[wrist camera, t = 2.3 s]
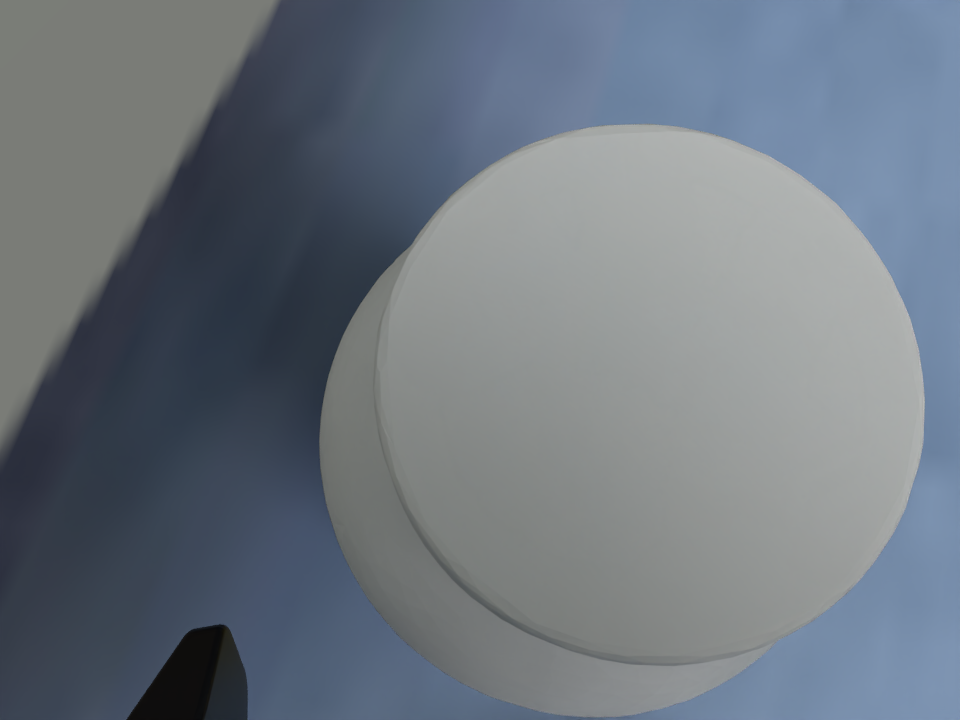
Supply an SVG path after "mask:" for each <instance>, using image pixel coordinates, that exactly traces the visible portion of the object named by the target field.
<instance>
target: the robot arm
mask: <svg viewBox="0 0 960 720" xmlns="http://www.w3.org/2000/svg"><path fill="white" fill-rule="evenodd" d="M247 706H248V690H247V679H246V673H245V669H244V666H243V664H242V661H241V658H240V656H239V653H238V650H237V647H236V645H235V642H234V639H233V637H232V634H231V632H230V630H229V628H228V627H227V626H226V625H221V624H219V625H213V626H207V627H202V628H196V629H193V630H191V631H189V632H188V633H187V634H186V635H185V636H184V637H183V639H182V640H181V642H180V643H179V645H178V646H177V647H176V649H175V650H174V652H173V653H172V655H171V656H170V658H169V659H168V660H167V662H166V663H165V665H164V666H163V668H162V669H161V671H160V672H159V673H158V675H157V676H156V678H155V679H154V681H153V682H152V683H151V685H150V686H149V688H148V689H147V691H146V692H145V694H144V695H143V696H142V698H141V699H140V701H139V702H138V704H137V705H136V707H135V708H134V709H133V711H132V712H131V714H130V715H129V717H128V718H127V720H247Z"/></svg>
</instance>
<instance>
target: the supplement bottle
mask: <svg viewBox="0 0 960 720" xmlns="http://www.w3.org/2000/svg"><path fill="white" fill-rule="evenodd" d="M924 406H925V398H924V386H923V375H922V369H921V362H920V355H919V349H918V345H917V342H916V338H915V335H914V331H913V327H912V324H911V320H910V317H909V315H908V312H907V310H906V308H905V305H904V303H903V301H902V299H901V297H900V294H899V292H898V290H897V288H896V286H895V284H894V281H893V279H892V277H891V275H890V274H889V272H888V271H887V269H886V267H885V266H884V264H883V262H882V261H881V259H880V258H879V256H878V255H877V253H876V252H875V250H874V249H873V247H872V246H871V244H870V243H869V242H868V240H867V239H866V238H865V236H864V235H863V234H862V232H861V231H860V230H859V229H858V228H857V227H856V226H855V224H854V223H853V222H852V221H851V220H850V219H849V217H848V216H847V215H846V214H845V213H844V212H843V211H842V209H841V208H840V207H839V206H838V205H837V204H836V203H835V202H834V201H832V200H831V199H830V198H829V197H828V196H827V195H825V194H824V193H823V192H821V191H820V190H819V189H818V188H816V187H815V186H814V185H812V184H811V183H810V182H809V181H807V180H806V179H805V178H803V177H802V176H801V175H799V174H798V173H796V172H794V171H793V170H791V169H789V168H788V167H786V166H785V165H783V164H781V163H780V162H778V161H776V160H775V159H773V158H771V157H770V156H768V155H765V154H763V153H761V152H759V151H756V150H754V149H752V148H749V147H747V146H745V145H742V144H740V143H738V142H735V141H733V140H730V139H727V138H723V137H720V136H717V135H714V134H711V133H706V132H701V131H697V130H692V129H687V128H682V127H676V126H666V125H656V124H631V125H602V126H596V127H590V128H585V129H580V130H575V131H570V132H565V133H561V134H558V135H554V136H551V137H548V138H545V139H542V140H539V141H537V142H534V143H532V144H529V145H527V146H524V147H522V148H520V149H518V150H516V151H514V152H512V153H510V154H508V155H506V156H505V157H503V158H501V159H500V160H498V161H496V162H495V163H493V164H491V165H490V166H488V167H487V168H485V169H484V170H483V171H481V172H480V173H479V174H477V175H476V176H474V177H473V178H472V179H470V180H469V181H468V182H466V183H465V184H464V185H463V186H462V187H460V188H459V189H458V190H457V191H456V192H454V193H453V194H452V195H451V196H450V197H449V198H448V199H447V200H446V201H445V203H444V204H443V205H442V206H441V207H440V208H439V209H438V210H437V211H436V213H435V214H434V215H433V216H432V218H431V219H430V220H429V221H428V223H427V224H426V225H425V226H424V228H423V229H422V230H421V231H420V233H419V234H418V235H417V237H416V239H415V240H414V242H413V244H412V245H411V246H410V247H409V248H408V249H406V250H405V251H404V252H403V253H402V254H401V255H400V256H399V257H398V258H397V259H396V260H395V261H394V263H393V264H392V265H391V266H389V267H388V268H387V269H386V270H385V272H384V273H383V274H382V275H381V276H380V277H379V279H378V280H377V281H376V283H375V284H374V285H373V287H372V288H371V290H370V291H369V292H368V294H367V295H366V297H365V298H364V299H363V301H362V302H361V304H360V305H359V307H358V309H357V310H356V312H355V314H354V316H353V317H352V319H351V321H350V323H349V325H348V327H347V329H346V331H345V332H344V334H343V337H342V339H341V342H340V344H339V347H338V349H337V352H336V355H335V357H334V360H333V363H332V366H331V370H330V373H329V376H328V380H327V385H326V389H325V394H324V400H323V406H322V412H321V424H320V437H319V445H320V467H321V476H322V483H323V489H324V495H325V500H326V505H327V508H328V512H329V515H330V519H331V522H332V525H333V528H334V531H335V534H336V538H337V540H338V543H339V545H340V548H341V550H342V552H343V555H344V557H345V559H346V561H347V563H348V565H349V567H350V569H351V571H352V573H353V574H354V576H355V578H356V580H357V582H358V583H359V585H360V587H361V588H362V590H363V592H364V593H365V595H366V596H367V598H368V599H369V601H370V602H371V603H372V605H373V606H374V607H375V609H376V610H377V611H378V613H379V614H380V615H381V616H382V617H383V618H384V620H385V621H386V622H387V623H388V624H389V625H390V627H391V628H392V629H393V630H394V631H395V632H396V633H397V635H398V636H399V637H400V638H401V639H402V640H403V641H405V642H406V643H407V644H408V645H409V646H410V647H411V648H413V649H414V650H415V651H416V652H417V653H419V654H420V655H421V656H422V657H424V658H425V659H426V660H427V661H429V662H430V663H432V664H433V665H434V666H436V667H437V668H438V669H440V670H441V671H443V672H444V673H446V674H447V675H449V676H451V677H452V678H454V679H456V680H457V681H459V682H461V683H463V684H465V685H467V686H469V687H471V688H473V689H475V690H477V691H479V692H481V693H483V694H485V695H487V696H490V697H492V698H495V699H498V700H501V701H505V702H508V703H512V704H515V705H518V706H522V707H525V708H529V709H532V710H535V711H541V712H546V713H551V714H556V715H563V716H578V717H619V716H628V715H635V714H639V713H643V712H648V711H652V710H657V709H661V708H665V707H668V706H672V705H675V704H678V703H681V702H684V701H687V700H690V699H692V698H694V697H697V696H699V695H701V694H703V693H705V692H707V691H709V690H711V689H713V688H715V687H717V686H719V685H720V684H722V683H724V682H726V681H728V680H729V679H731V678H732V677H734V676H735V675H737V674H738V673H740V672H741V671H743V670H744V669H745V668H747V667H748V666H749V665H751V664H752V663H753V662H755V661H756V660H757V659H759V658H760V657H761V656H762V655H763V654H765V653H766V652H767V651H768V650H769V649H770V648H771V647H772V646H773V645H774V644H775V643H776V642H777V641H778V640H779V639H781V638H783V637H785V636H787V635H789V634H791V633H793V632H795V631H796V630H798V629H800V628H801V627H803V626H805V625H807V624H808V623H810V622H812V621H813V620H815V619H816V618H817V617H819V616H820V615H821V614H823V613H824V612H825V611H826V610H828V609H829V608H830V607H832V606H833V605H834V604H835V603H836V602H837V601H839V600H840V599H841V598H842V597H843V596H844V595H846V594H847V593H848V592H849V591H850V590H851V589H852V588H853V587H854V586H855V585H856V584H857V582H858V581H859V580H860V579H861V578H862V577H863V575H864V574H865V573H866V572H867V570H868V569H869V568H870V567H871V566H872V564H873V563H874V562H875V561H876V559H877V558H878V556H879V555H880V553H881V552H882V550H883V548H884V547H885V545H886V544H887V542H888V541H889V539H890V538H891V536H892V535H893V533H894V531H895V529H896V527H897V525H898V523H899V521H900V519H901V517H902V515H903V513H904V511H905V509H906V505H907V502H908V499H909V495H910V492H911V488H912V485H913V482H914V479H915V476H916V473H917V470H918V467H919V462H920V457H921V452H922V447H923V433H924Z"/></svg>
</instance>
